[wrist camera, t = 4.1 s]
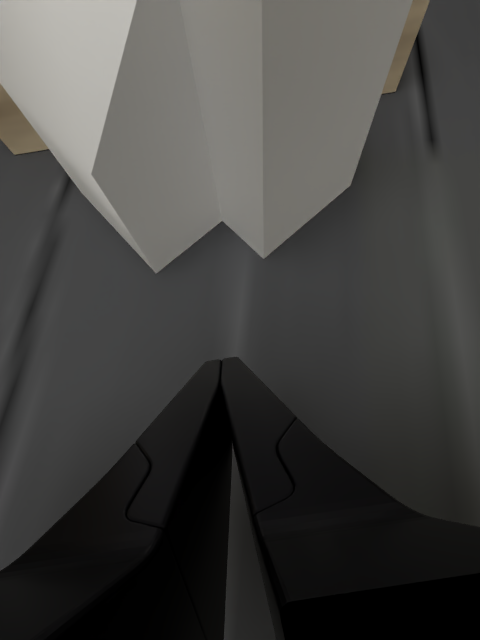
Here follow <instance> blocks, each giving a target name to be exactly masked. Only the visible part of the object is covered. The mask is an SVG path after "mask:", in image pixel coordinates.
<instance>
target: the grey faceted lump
mask: <svg viewBox="0 0 480 640" xmlns="http://www.w3.org/2000/svg"><path fill="white" fill-rule="evenodd" d="M412 1H413V0H0V84H1V85H2V86H3V88H4V89H5V90H6V92H7V93H8V94H9V96H10V97H11V98H12V100H13V101H14V103H15V104H16V105H17V107H18V108H19V109H20V111H21V112H22V113H23V115H24V116H25V117H26V119H27V120H28V121H29V123H30V124H31V125H32V127H33V128H34V129H35V131H36V132H37V133H38V135H39V136H40V138H41V139H42V140H43V142H44V143H45V144H46V146H47V147H48V148H49V150H50V151H51V152H52V154H53V155H54V156H55V158H56V159H57V160H58V162H59V163H60V164H61V166H62V167H63V168H64V170H65V171H66V172H67V174H68V175H69V177H70V178H71V179H72V181H73V182H74V183H75V185H76V186H77V187H78V189H79V190H80V191H81V193H82V194H83V195H84V196H85V197H86V198H87V199H88V200H89V201H90V202H91V204H92V205H93V206H94V207H95V208H96V209H97V210H98V211H99V212H100V213H101V214H102V215H103V217H104V218H105V219H106V220H107V221H108V222H109V223H110V224H111V225H112V226H113V227H114V228H115V229H116V231H117V232H118V233H119V234H120V235H121V236H122V237H123V238H124V239H125V240H126V241H127V242H128V244H129V245H130V246H131V247H132V248H133V249H134V250H135V251H136V252H137V253H138V254H139V255H140V257H141V258H142V259H143V260H144V261H145V262H146V263H147V264H148V265H149V266H150V267H151V268H152V269H153V271H154V272H155V273H158V272H159V271H160V270H161V269H163V268H164V267H165V266H166V265H168V264H169V263H170V262H171V261H173V260H174V259H175V258H176V257H178V256H179V255H180V254H181V253H183V252H184V251H185V250H186V249H188V248H189V247H190V246H191V245H192V244H194V243H195V242H196V241H197V240H199V239H200V238H201V237H202V236H204V235H205V234H206V233H207V232H209V231H210V230H211V229H212V228H214V227H215V226H216V225H217V224H219V223H220V222H221V221H223V222H224V223H225V224H226V225H227V226H229V227H230V228H231V229H232V230H233V231H234V232H235V233H236V234H237V235H238V236H239V237H240V238H241V239H243V240H244V241H245V242H246V243H247V244H248V245H249V246H250V247H251V248H252V249H253V250H254V251H256V252H257V253H258V254H259V255H260V256H261V257H262V258H263V259H264V258H265V257H267V256H268V255H269V254H270V253H271V252H273V251H274V250H275V249H276V248H277V247H278V246H280V245H281V244H282V243H283V242H284V241H285V240H287V239H288V238H289V237H290V236H291V235H293V234H294V233H295V232H296V231H297V230H298V229H300V228H301V227H302V226H303V225H304V224H305V223H307V222H308V221H309V220H310V219H311V218H313V217H314V216H315V215H316V214H317V213H318V212H320V211H321V210H322V209H323V208H324V207H325V206H327V205H328V204H329V203H330V202H331V201H333V200H334V199H335V198H336V197H337V196H338V195H340V194H341V193H342V192H343V191H344V190H345V189H347V188H348V187H349V186H350V185H351V182H352V180H353V177H354V174H355V171H356V168H357V165H358V162H359V159H360V156H361V153H362V150H363V147H364V144H365V141H366V138H367V135H368V132H369V129H370V126H371V123H372V120H373V117H374V114H375V111H376V108H377V105H378V102H379V99H380V96H381V93H382V90H383V88H384V85H385V82H386V79H387V76H388V73H389V70H390V67H391V64H392V61H393V58H394V55H395V52H396V49H397V46H398V43H399V40H400V37H401V34H402V31H403V28H404V25H405V22H406V19H407V16H408V13H409V10H410V7H411V4H412Z"/></svg>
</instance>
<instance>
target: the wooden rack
mask: <svg viewBox="0 0 480 640" xmlns="http://www.w3.org/2000/svg"><path fill="white" fill-rule="evenodd" d="M429 1H430V0H413V1H412V4H411V7H410V10H409V13H408V16H407V19H406V22H405V25H404V28H403V31H402V34H401V37H400V40H399V43H398V46H397V49H396V52H395V55H394V58H393V61H392V64H391V67H390V70H389V73H388V76H387V79H386V82H385V85H384V88H383V90H382V93H381V94H385V93H391V92H396V89H397V86H398V84H399V81H400V78H401V76H402V73H403V70H404V68H405V65H406V63H407V60H408V57H409V55H410V52H411V49H412V47H413V44H414V41H415V39H416V36H417V33H418V31H419V28H420V25H421V23H422V20H423V17H424V15H425V12H426V9H427V7H428V4H429ZM0 139H1V140H2V141H3V142H4V144H5V145H6V146H7V147H8V148H9V149H10V150H11V152H12V153H13V154H14V155H17V154H23V153H29V152H35V151H41V150H47V149H49V148H48V147H47V146H46V144H45V143H44V142H43V140H42V139H41V138H40V136H39V135H38V133H37V132H36V131H35V129H34V128H33V127H32V125H31V124H30V123H29V121H28V120H27V119H26V117H25V116H24V115H23V113H22V112H21V111H20V109H19V108H18V107H17V105H16V104H15V103H14V101H13V100H12V98H11V97H10V96H9V94H8V93H7V92H6V90H5V89H4V88H3V86H2V85H1V84H0Z"/></svg>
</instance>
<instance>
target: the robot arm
mask: <svg viewBox="0 0 480 640" xmlns="http://www.w3.org/2000/svg"><path fill="white" fill-rule="evenodd" d="M232 443H233V448H234V452H235V457H236V461H237V466H238V470H239V475H240V479H241V484H242V488H243V493H244V497H245V501H246V506H247V510H248V515H249V519H250V524H251V528H252V533H253V537H254V542H255V546H256V551H257V555H258V560H259V564H260V568H261V573H262V577H263V582H264V586H265V591H266V595H267V600H268V604H269V609H270V613H271V618H272V622H273V626H274V631H275V635H276V640H480V527H476V526H471V525H466V524H461V523H456V522H451V521H446V520H442V519H437V518H432V517H429V516H426V515H423V514H420V513H418V512H416V511H414V510H412V509H410V508H408V507H407V506H405V505H404V504H402V503H400V502H399V501H397V500H396V499H395V498H393V497H392V496H390V495H389V494H388V493H386V492H385V491H384V490H383V489H381V488H380V487H379V486H377V485H376V484H375V483H373V482H372V481H371V480H370V479H368V478H367V477H366V476H364V475H363V474H362V473H361V472H359V471H358V470H357V469H355V468H354V467H353V466H351V465H350V464H349V463H348V462H346V461H345V460H344V459H342V458H341V457H340V456H339V455H337V454H336V453H335V452H334V451H333V450H331V449H330V448H329V447H328V446H326V445H325V444H324V443H323V442H322V441H321V440H319V439H318V438H317V437H316V436H315V435H314V434H313V433H312V432H311V431H310V430H309V429H308V428H307V427H306V426H305V425H304V424H303V423H302V422H301V421H300V420H299V419H297V417H296V416H295V415H294V414H293V413H292V412H291V411H290V410H289V409H288V408H287V407H286V406H285V405H284V404H283V403H282V402H281V401H280V400H279V399H278V398H277V397H276V396H275V395H274V394H273V393H272V392H271V390H270V389H269V388H268V387H267V386H266V385H265V384H264V383H263V382H262V381H261V380H260V379H259V378H258V377H257V376H256V375H255V374H254V373H253V372H252V371H251V370H250V369H249V368H248V367H247V366H246V365H245V364H244V363H243V362H242V361H241V360H240V359H239V358H238V357H231V358H225V359H223V360H222V361H221V360H212V361H207V362H205V363H204V364H203V365H202V366H201V367H200V369H199V370H198V371H197V372H196V373H195V374H194V375H193V377H192V378H191V379H190V380H189V381H188V382H187V383H186V385H185V386H184V387H183V388H182V389H181V390H180V391H179V393H178V394H177V395H176V396H175V397H174V398H173V399H172V401H171V402H170V403H169V404H168V405H167V406H166V407H165V409H164V410H163V411H162V412H161V413H160V414H159V415H158V417H157V418H156V419H155V420H154V421H153V422H152V423H151V425H150V426H149V427H148V428H147V429H146V430H145V431H144V433H143V434H142V435H141V436H140V437H139V438H138V439H137V441H136V444H133V445H132V446H131V447H130V448H129V450H128V451H127V452H126V453H125V454H124V455H123V456H122V457H121V459H120V460H119V461H118V462H117V463H116V464H115V465H114V466H113V467H112V468H111V469H110V470H109V472H108V473H107V474H106V475H105V476H104V477H103V478H102V479H101V480H100V481H99V482H98V483H97V484H96V485H95V486H94V487H93V488H92V489H91V490H90V491H89V492H88V493H87V494H86V495H85V496H83V497H82V498H81V499H80V500H79V501H78V502H77V503H76V504H75V505H74V506H73V507H72V508H71V509H70V510H69V511H68V512H67V513H66V514H65V515H64V516H63V517H62V518H61V519H59V520H58V521H57V522H56V523H55V524H54V525H53V526H52V527H51V528H50V529H49V530H48V531H47V532H46V533H45V534H44V535H43V536H42V537H41V538H40V539H39V540H38V541H37V542H35V543H34V544H33V545H32V546H31V547H30V548H29V549H28V550H27V551H26V552H25V553H24V554H22V555H21V556H20V557H19V558H18V559H16V560H15V561H14V562H13V563H11V564H10V565H9V566H7V567H6V568H4V569H3V570H1V571H0V640H224V622H225V600H226V578H227V556H228V535H229V513H230V491H231V469H232Z"/></svg>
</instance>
